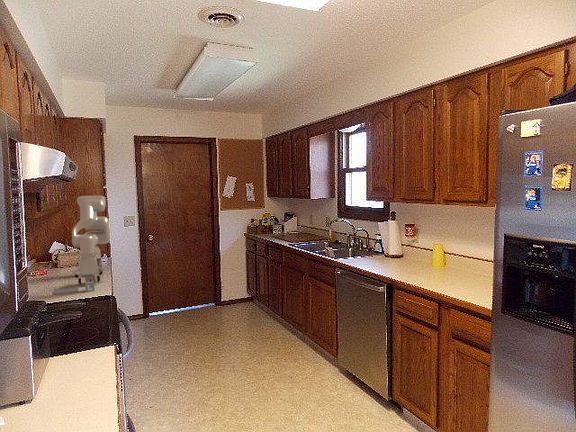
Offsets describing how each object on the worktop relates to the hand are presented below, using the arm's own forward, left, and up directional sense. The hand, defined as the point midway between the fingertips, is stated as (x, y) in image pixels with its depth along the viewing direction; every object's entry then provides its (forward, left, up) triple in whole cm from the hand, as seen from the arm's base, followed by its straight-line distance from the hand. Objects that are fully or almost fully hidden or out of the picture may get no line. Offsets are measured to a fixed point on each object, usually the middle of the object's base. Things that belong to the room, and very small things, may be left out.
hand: (89, 283), depth 238 cm
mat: (-8, -13, -5) cm, 16 cm away
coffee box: (-18, +3, -5) cm, 19 cm away
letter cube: (0, 0, -5) cm, 5 cm away
